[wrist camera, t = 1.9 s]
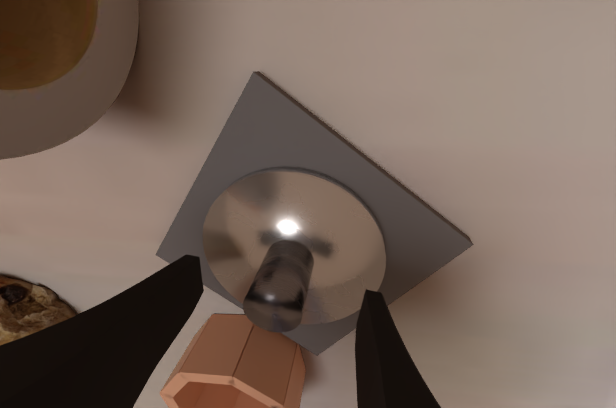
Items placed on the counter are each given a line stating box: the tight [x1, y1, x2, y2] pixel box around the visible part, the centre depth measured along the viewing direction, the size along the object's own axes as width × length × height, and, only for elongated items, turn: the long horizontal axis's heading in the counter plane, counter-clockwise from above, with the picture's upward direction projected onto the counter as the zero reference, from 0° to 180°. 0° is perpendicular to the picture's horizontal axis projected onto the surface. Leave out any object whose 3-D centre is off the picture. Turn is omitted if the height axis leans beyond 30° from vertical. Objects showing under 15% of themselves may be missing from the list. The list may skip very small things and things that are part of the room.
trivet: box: [156, 71, 473, 355], centre depth 14 cm, size 12×12×1 cm
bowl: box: [160, 314, 306, 408], centre depth 18 cm, size 8×8×4 cm
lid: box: [202, 166, 386, 333], centre depth 12 cm, size 9×9×4 cm
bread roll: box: [0, 276, 76, 345], centre depth 21 cm, size 10×10×8 cm
